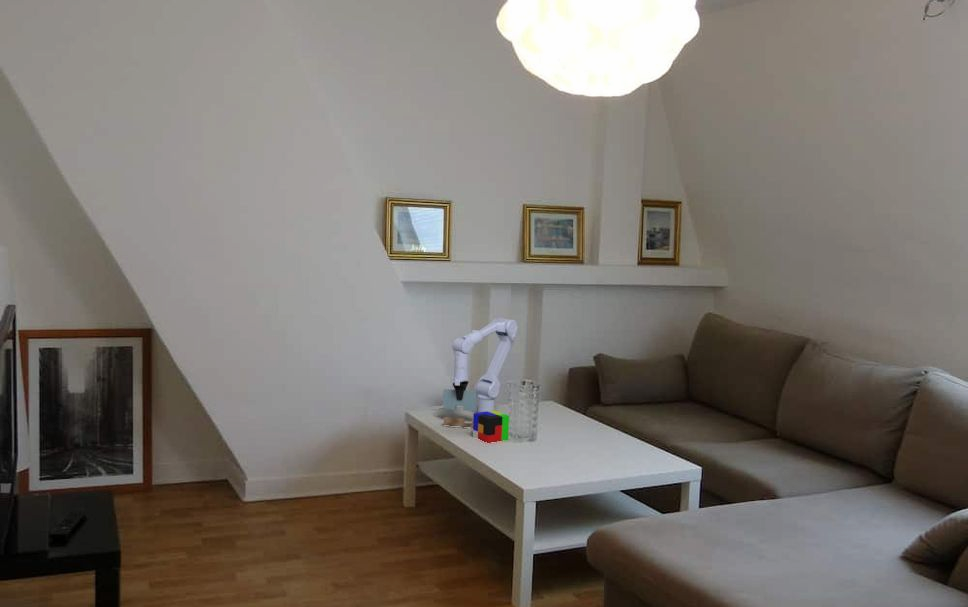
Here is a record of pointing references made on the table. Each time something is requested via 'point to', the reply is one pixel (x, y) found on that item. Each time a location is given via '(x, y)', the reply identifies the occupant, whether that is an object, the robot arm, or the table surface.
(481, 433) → the puzzle toy
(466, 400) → the teal slotted plate
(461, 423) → the walnut slotted plate
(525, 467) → the table surface
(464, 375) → the robot arm
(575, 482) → the table surface
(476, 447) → the table surface
